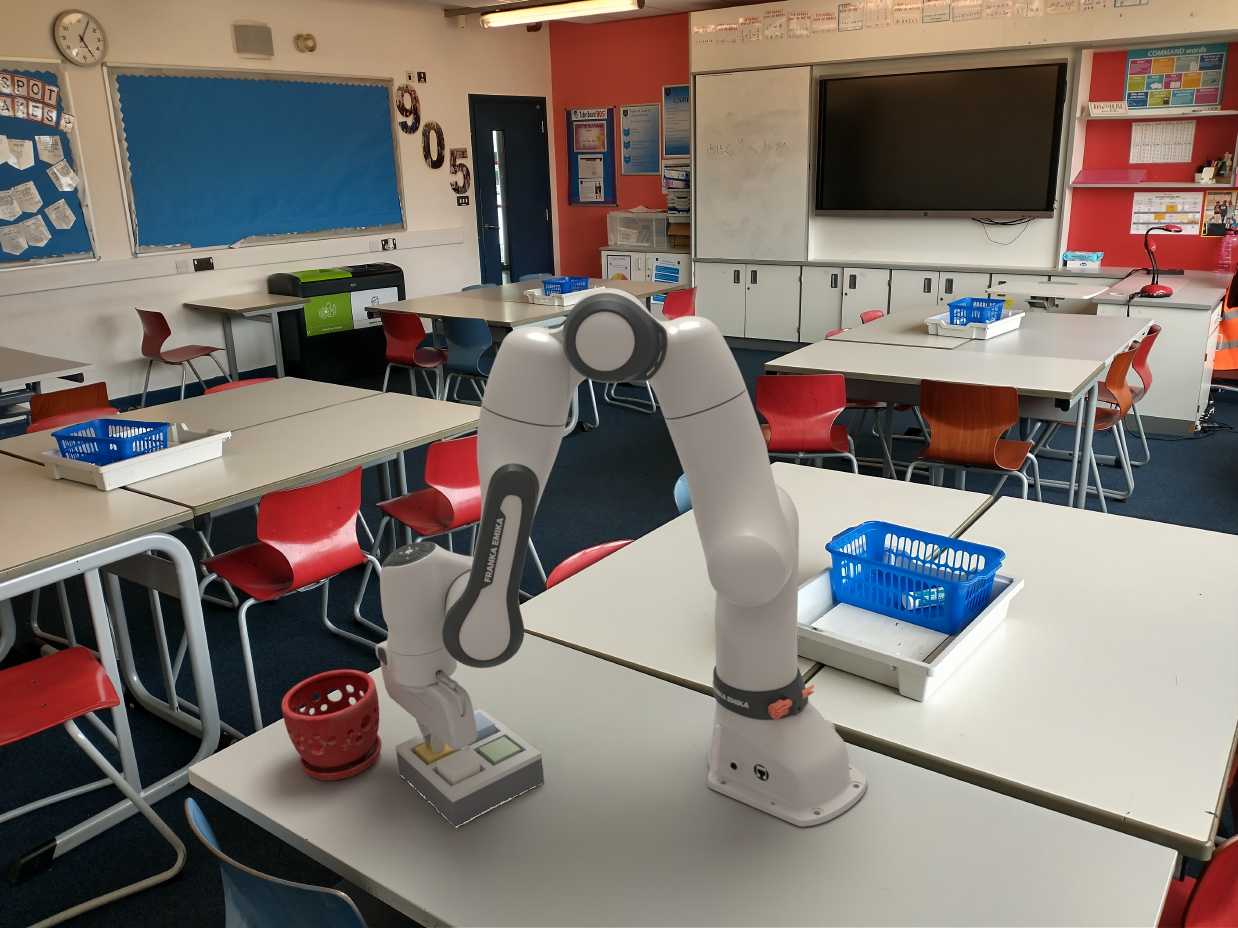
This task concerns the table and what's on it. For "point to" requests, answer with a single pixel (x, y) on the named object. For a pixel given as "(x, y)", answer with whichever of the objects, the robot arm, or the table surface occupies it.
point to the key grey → (457, 767)
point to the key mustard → (432, 754)
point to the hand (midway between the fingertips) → (434, 747)
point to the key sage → (499, 751)
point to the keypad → (479, 788)
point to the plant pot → (334, 724)
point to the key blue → (483, 727)
